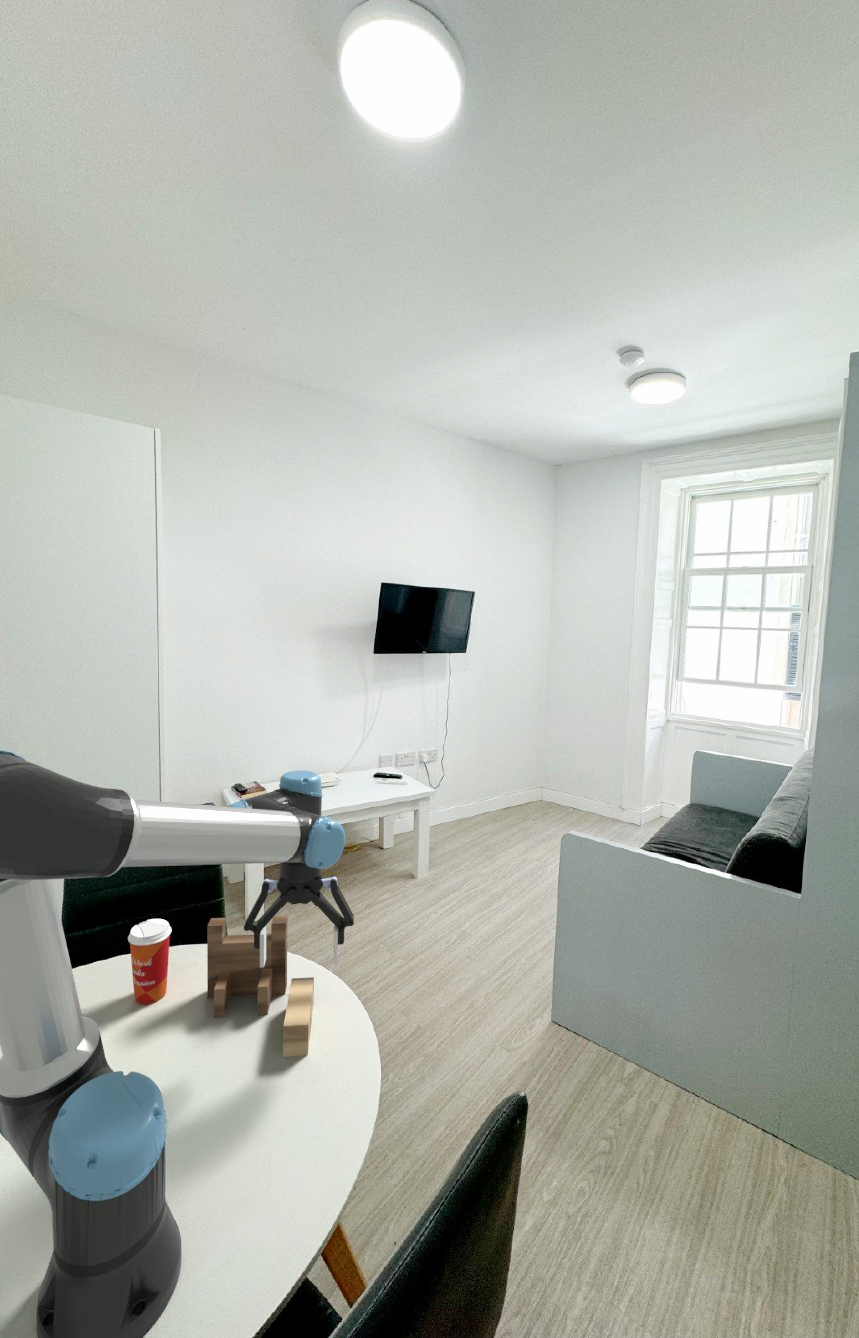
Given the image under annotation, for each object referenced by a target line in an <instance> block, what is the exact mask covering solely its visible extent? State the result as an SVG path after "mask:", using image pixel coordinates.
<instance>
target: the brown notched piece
mask: <svg viewBox="0 0 859 1338" xmlns="http://www.w3.org/2000/svg"><path fill="white" fill-rule="evenodd" d="M226 921H227V919H226V917H216V918H215V917H212V918H210V920H209V922H208V924H207V929H206V930H207V933H206V935H207V944H206V945H207V947H206V949H207V950H206V951H207V954H206V955H207V974H206V975H207V999H213V1018H225V1016H226V1013H227V1009H228V1008H229V1004H230V1001H231V998H237V997H255V996H257V1016H261V1015H262V1016H263V1015H268V1014H269V1010H270V1005H271V1001H272V997H273V996H274V995H276V996H277V995H285V994H286V990H287V986H288V915H275V916H274V917H273V918H272V919H271V929H270V932H271V933H266V961H265V965H264V967H262V968H260V949H255V947H254V933H253V934H234V935H233V934H232V935H229V934H228V935H227V934H226V923H227V922H226Z"/></svg>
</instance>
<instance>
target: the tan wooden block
mask: <svg viewBox="0 0 859 1338" xmlns="http://www.w3.org/2000/svg"><path fill="white" fill-rule="evenodd" d="M314 982H315V977H314V976H312V977H310V976H309V977H293V978H291V982H290V987H289V993H288V998H287V1004H286V1011H285V1017H284V1021H283V1030H282V1031H283V1037H282V1038H283V1039H282V1040H283V1043H282V1051H283V1052H282V1053H283V1054H282V1056H283V1057H296V1056H298V1057H299V1056H308V1055H309V1050H310V1049H309V1048H310V1047H309V1046H310V1040H311V1039H310V1038H311V1031H312V1030H311V1029H312V1021H313V1013H314V1012H313V1011H314V997H315V996H314V994H315V993H314V991H315V990H314V987H315V983H314ZM312 1012H313V1013H312Z"/></svg>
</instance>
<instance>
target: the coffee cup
mask: <svg viewBox="0 0 859 1338" xmlns="http://www.w3.org/2000/svg"><path fill="white" fill-rule="evenodd" d="M172 931H173V930H172V926H170V923H169V921H167V920H165V919H162V918H151V919H149V918H148V919H147V920H145V921H142V922H140V923H138V924H135V925H134V926H133V927H131V929H130V932H129V935H128V936H127V940H128V943H129V945H130V946H129V947H130V958H131V959H130V960H131V961H130V962H131V969H132V970H131V972H132V985H133V994H134V1000H135V1001H134V1002H135V1003H137V1004H140V1005H151V1004H154V1003H156V1002H157V1003H158V1001H161V1000H162V999H163V998H164V997H165V995H166V993H167V985H168V970H169V957H170V956H169V953H170V939H171V938H170V937H171V936H170V935H171V933H172Z"/></svg>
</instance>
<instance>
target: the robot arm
mask: <svg viewBox="0 0 859 1338" xmlns="http://www.w3.org/2000/svg"><path fill="white" fill-rule="evenodd" d="M279 780H280V781H279V785H278V786H279V788H278V789H277V788H276V789H275V790H273V791H270V792H266V793H262V794H259V795H255V796H251V797H248V798H241V799H240V800H238V801H236V802H234V803H230V804H227V805H225V806H224V805H223V806H222V805H208V804H197V803H182V802H171V801H170V802H169V801H157V800H142V799H141V800H140V799H133V797H132V796H131V794H130V793H129V792H128V791H126V790H125V789H120V788H109V787H108V788H107V787H102V786H96V785H92V784H88V783H85V782H81V781H78V780H75V779H72V778H70V777H68V776H65V775H62V774H60V773H57V772H56V771H53V770H51V769H48V768H45V767H43V766H41V765H38V764H35V763H33V762H30V761H28V760H26V759H25V758H24V757H22V756H21V755H19V754H17V753H14V752H12V751H8V750H1V749H0V1051H1V1054H2V1057H1V1058H0V1135H1V1137H3V1139H4V1140H6V1141H7V1142H8V1143H9V1145H10V1147H11V1148H12V1149H13V1150H14V1152H15V1154H16V1155H17V1156H18V1158H19V1159H20V1160H21V1162H22V1163H23V1165H24V1166H25V1168H26V1169H27V1170H28V1172H29V1173H30V1175H31V1176H32V1177H33V1178H34V1180H35V1182H36V1183H37V1185H38V1186H39V1188H40V1190H42V1191H41V1192H43V1194H44V1195H45V1197H46V1198H47V1200H48V1203H49V1206H50V1208H51V1209H50V1210H51V1214H52V1215H51V1217H52V1218H51V1219H52V1220H51V1221H52V1238H53V1239H52V1247H53V1248H52V1249H53V1250H52V1255H51V1256H50V1260H49V1262H48V1266H47V1268H46V1270H45V1271H46V1272H45V1275H44V1277H43V1280H42V1283H41V1285H40V1289H39V1291H38V1292H39V1293H38V1298H37V1304H36V1311H35V1313H36V1314H35V1315H36V1316H35V1317H36V1318H35V1319H36V1320H35V1321H36V1337H37V1338H140V1337H141V1336H142V1335H143V1334H144V1333H145V1334H146V1333H147V1332H148V1331H149V1330H148V1329H151V1328H152V1326H153V1325H154V1324H155V1322H156V1321H158V1319H159V1317H160V1316H161V1315H162V1313H163V1312H164V1310H165V1308H167V1305H168V1304H169V1302H170V1300H171V1298H172V1296H173V1295H174V1292H175V1289H176V1287H177V1285H178V1281H179V1278H180V1274H181V1270H182V1269H181V1268H182V1237H181V1236H182V1235H181V1233H180V1232H181V1231H180V1227H179V1226H178V1223H177V1221H176V1219H175V1217H174V1216H173V1212H172V1211H171V1208H170V1206H169V1205H168V1203H167V1200H166V1137H167V1127H168V1126H167V1114H166V1109H165V1104H164V1103H165V1102H164V1098H163V1095H162V1092H161V1090H160V1088H159V1086H158V1085H157V1084H156V1082H155V1081H154V1080H153V1079H152V1078H150V1077H148V1076H147V1075H145V1074H143V1073H140V1072H136V1071H130V1072H129V1073H127V1074H124V1071H123V1070H117V1071H114V1070H113V1069H112V1068H111V1067H110V1064H109V1063H108V1061H107V1058H106V1054H105V1050H104V1044H103V1040H102V1035H101V1032H100V1028H99V1025H98V1024H97V1022H96V1021H95V1020H93V1019H92V1018H90V1017H87V1016H83V1013H82V1009H81V1005H80V999H79V996H78V991H77V986H76V982H75V981H76V980H75V978H74V973H73V968H72V963H71V959H70V955H69V950H68V949H69V948H68V947H67V946H68V945H67V941H66V937H65V932H64V927H63V923H62V922H63V921H62V919H61V915H60V914H61V913H60V909H59V905H58V899H57V895H56V892H55V886H54V882H53V880H65V879H67V880H70V879H87V878H92V879H93V878H107V877H111V876H112V875H114V874H116V873H117V872H118V871H120V869H122V868H128V867H129V868H130V867H131V868H134V867H136V868H137V867H168V866H169V867H170V866H174V867H175V866H203V865H204V866H205V865H206V866H208V865H242V864H243V865H244V864H246V865H247V864H277V863H279V879H278V880H275V879H271V878H270V877H269V876H266V877H264V878H263V881H262V884H261V890H260V892H259V895H258V897H257V899H256V901H255V903H254V905H253V906H252V908H251V911H250V912H249V914H248V916H247V918H246V920H245V923H244V925H243V930H244V932H249V931H251V932H252V933H253V934H254V947H255V949H260V968H262V967H264V965H265V961H266V934H267V925H268V924H269V923H270V921H272V920H273V917H274V916H277V914H278V912H279V911H280V910H281V909H282V908H284V906H285V905H286V904H287V903H290V905H297V904H302V905H308V904H309V903H312V904H313V905H314V906H315V907H318V909H319V910H320V911H321V912H322V913H323V914H324V915H325V916H326V917H327V919H329V921H331V923H332V924H333V964H336V965H337V964H338V960H339V945H344V943H345V929H346V928H347V927H353V926H354V924H355V923H354V922H355V916H354V913H353V911H352V909H351V908H350V906H349V904H348V902H347V900H346V898H345V896H344V894H343V893H342V890H341V889H340V886H339V882H338V876H337V874H332V875H331V876H330V877H327V878H323V877H322V872H321V871H322V870H326V869H329V868H331V867H333V866H335V864H336V863H337V862H338V861H339V860H340V858H341V856H342V854H343V851H344V847H345V844H346V832H345V830H344V827H343V826H342V824H341V823H340V822H338V821H336V820H333V819H331V818H330V817H328V816H326V815H324V816H323V815H322V801H323V800H322V799H323V792H322V790H323V789H322V779H321V776H320V775H319V773H317V772H315V771H311V770H291V771H288V772H285V773H284V774H282V776H281V777H280V779H279ZM323 887H326V890H328V891H330V892H331V895H332V898H333V899H334V901H335V903H336V905H337V908H338V909H339V911H340V913H341V914H340V913H339V912H338V910H337V909H336V908H335V907H334V906H333V905H332V903H331V902H329V900H328V899H327V898H326V897H325V895H324V894H323V893H322V891H321V890H322V888H323ZM276 888H277V890H278V891H279V893H280V894H279V895H278V897H277V898H276V899H275V901H274V902H273V903H272V904H271V905H269V907H268V908H267V910H266V911H265V912H264V913H263V914H262V915H261V917H260V918H259V919H256V918H257V917H258V915H259V912H260V911H261V909H262V907H263V905H264V903H265V901H266V899H267V898H268V894H270V893H273V891H274V889H276ZM147 1330H148V1331H147ZM146 1331H147V1332H146ZM145 1334H144V1335H145ZM144 1335H143V1336H144ZM143 1336H142V1337H143ZM142 1337H141V1338H142Z"/></svg>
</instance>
